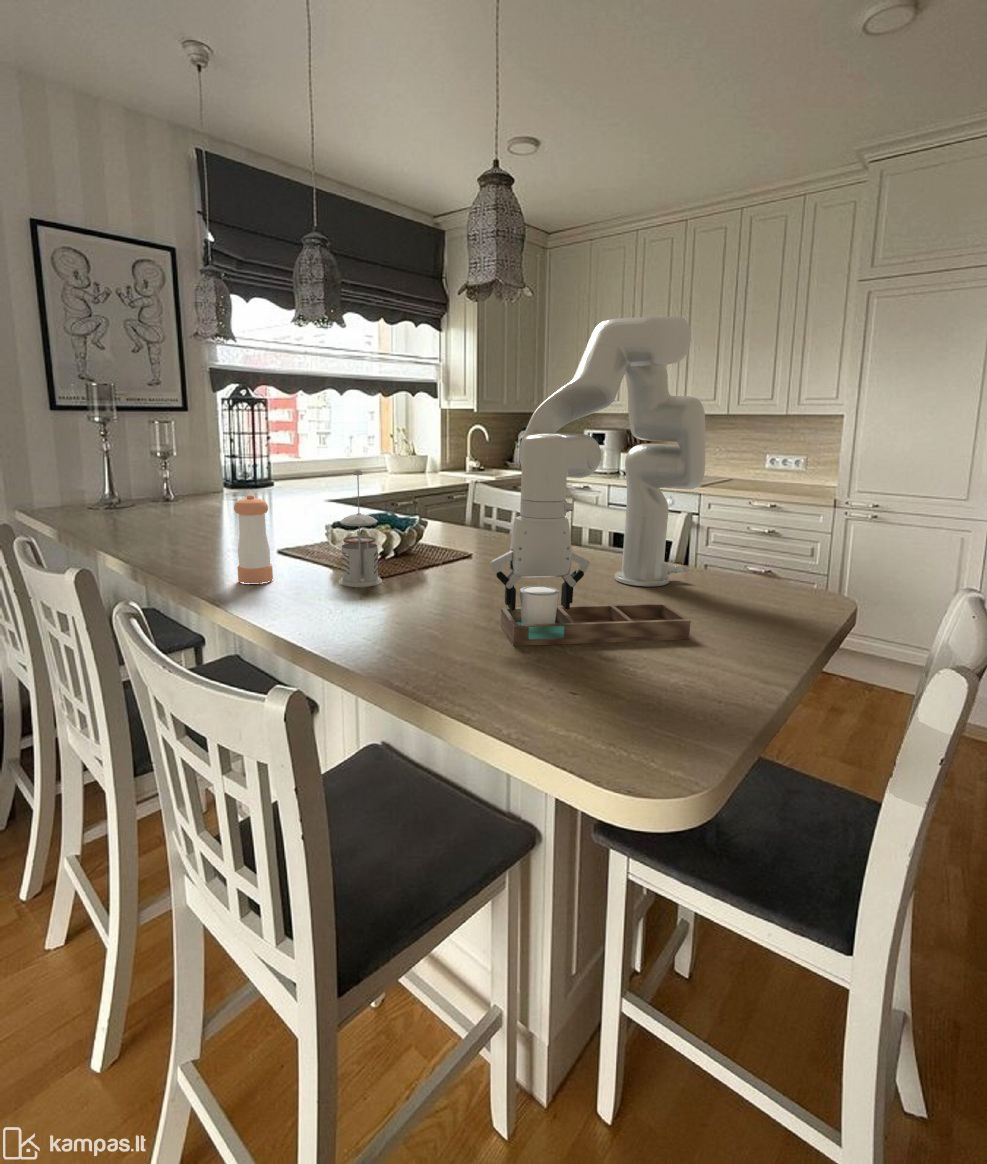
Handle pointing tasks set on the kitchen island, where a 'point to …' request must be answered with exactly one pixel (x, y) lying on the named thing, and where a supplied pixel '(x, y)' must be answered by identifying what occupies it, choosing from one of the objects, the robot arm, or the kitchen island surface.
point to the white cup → (538, 604)
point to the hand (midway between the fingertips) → (538, 608)
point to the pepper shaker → (253, 541)
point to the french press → (359, 552)
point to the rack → (599, 625)
